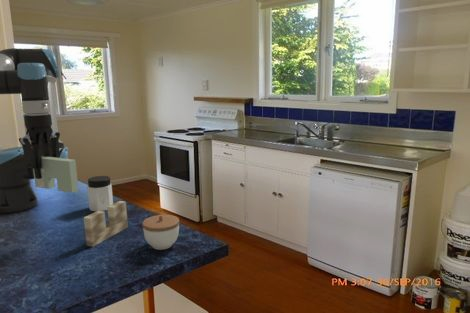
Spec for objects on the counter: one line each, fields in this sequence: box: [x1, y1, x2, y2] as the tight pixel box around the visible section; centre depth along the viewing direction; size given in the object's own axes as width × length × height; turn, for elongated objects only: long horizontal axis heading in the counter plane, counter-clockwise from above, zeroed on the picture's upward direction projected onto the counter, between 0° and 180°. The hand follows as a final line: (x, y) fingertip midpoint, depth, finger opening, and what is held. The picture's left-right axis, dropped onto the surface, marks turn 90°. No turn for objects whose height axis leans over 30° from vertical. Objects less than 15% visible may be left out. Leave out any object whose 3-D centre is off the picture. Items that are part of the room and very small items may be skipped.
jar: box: [87, 175, 114, 212], centre depth 141 cm, size 9×8×12 cm
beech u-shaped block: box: [83, 200, 129, 248], centre depth 116 cm, size 16×2×9 cm, turn 157°
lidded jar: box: [142, 214, 180, 251], centre depth 109 cm, size 11×11×9 cm
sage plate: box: [33, 156, 80, 194], centre depth 116 cm, size 16×2×10 cm, turn 67°
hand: (46, 186), depth 118 cm, fingers closed on sage plate, 2 cm apart
